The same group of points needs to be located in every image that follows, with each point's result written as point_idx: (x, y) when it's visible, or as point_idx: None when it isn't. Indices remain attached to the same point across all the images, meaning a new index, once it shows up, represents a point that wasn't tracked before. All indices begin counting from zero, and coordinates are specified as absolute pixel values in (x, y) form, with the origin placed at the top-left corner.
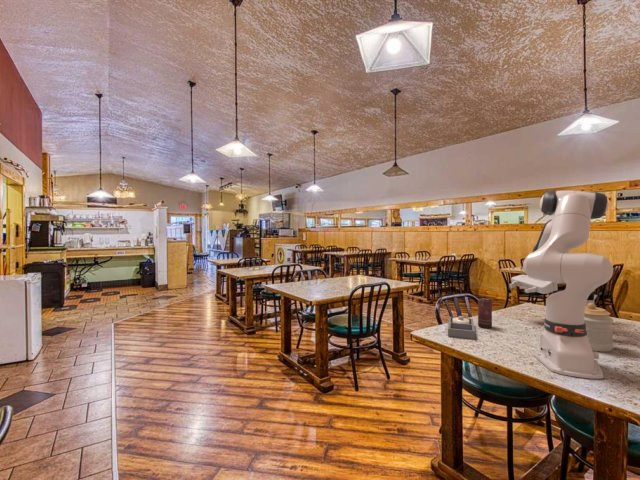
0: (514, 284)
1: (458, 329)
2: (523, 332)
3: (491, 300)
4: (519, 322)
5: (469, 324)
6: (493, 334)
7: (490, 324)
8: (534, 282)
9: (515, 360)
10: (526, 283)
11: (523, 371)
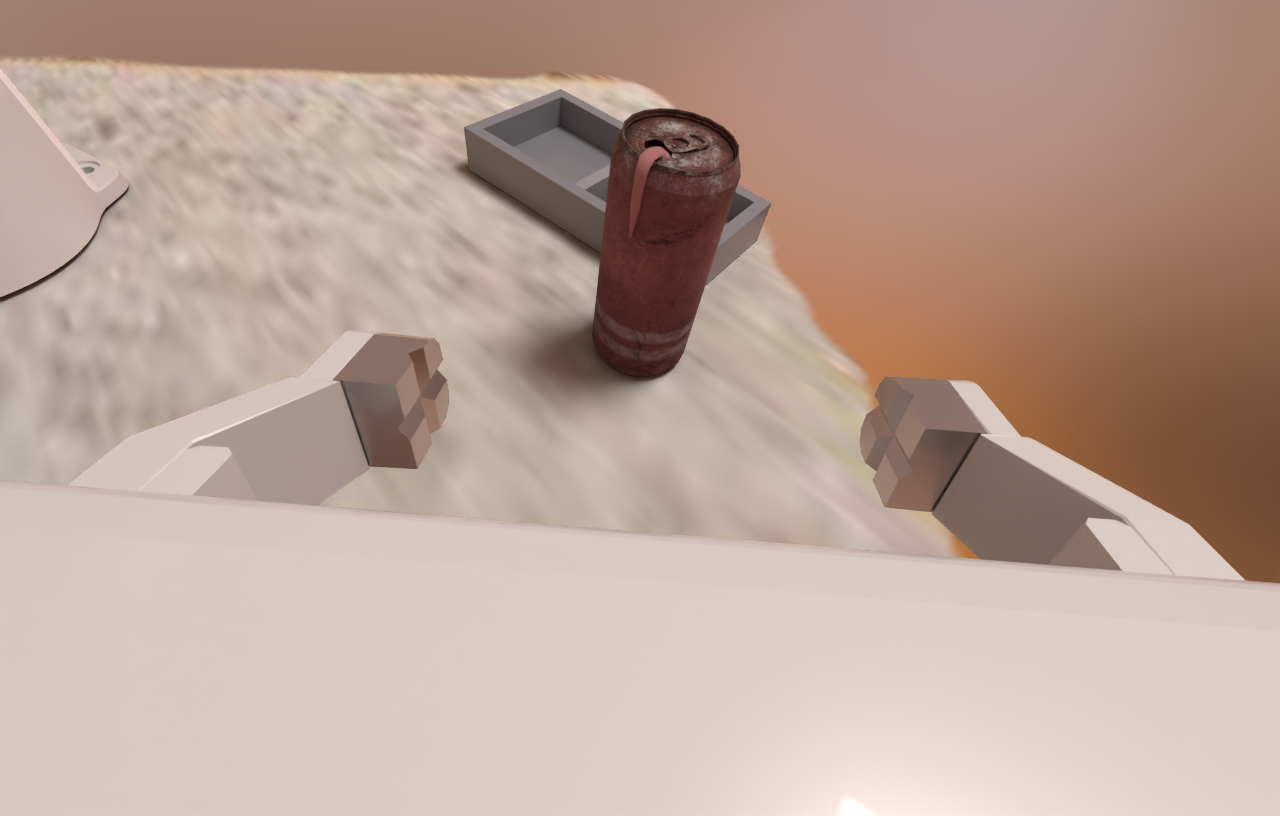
0: (916, 437)
1: (530, 105)
2: None
3: (628, 164)
4: None
5: (582, 179)
6: (484, 276)
7: (594, 325)
8: (152, 768)
9: (179, 114)
10: (597, 531)
11: (105, 70)
